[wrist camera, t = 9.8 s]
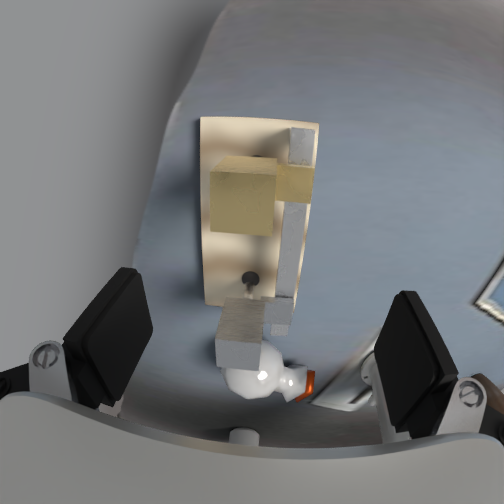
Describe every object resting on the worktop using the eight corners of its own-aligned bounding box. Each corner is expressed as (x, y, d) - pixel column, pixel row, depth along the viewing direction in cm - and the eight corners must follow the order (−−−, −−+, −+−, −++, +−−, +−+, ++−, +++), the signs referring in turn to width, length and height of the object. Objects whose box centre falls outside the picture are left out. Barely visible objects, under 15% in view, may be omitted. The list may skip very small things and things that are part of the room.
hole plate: (293, 305, 38) (293, 313, 37) (207, 297, 39) (205, 305, 37) (317, 123, 26) (319, 123, 25) (204, 116, 27) (200, 117, 26)
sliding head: (303, 190, 28) (318, 240, 18) (235, 185, 28) (210, 231, 18) (307, 152, 26) (327, 180, 16) (236, 146, 26) (209, 171, 16)
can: (229, 425, 59) (222, 466, 48) (259, 427, 58) (255, 469, 47) (231, 435, 62) (225, 474, 52) (259, 438, 62) (255, 476, 51)
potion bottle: (231, 320, 42) (303, 351, 47) (204, 372, 41) (278, 396, 46) (251, 339, 34) (333, 370, 38) (217, 401, 32) (302, 421, 37)
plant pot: (502, 356, 43) (525, 403, 29) (481, 389, 49) (497, 432, 35) (459, 372, 45) (480, 428, 31) (440, 404, 52) (454, 453, 38)
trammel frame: (286, 309, 37) (286, 387, 26) (234, 304, 37) (217, 380, 26) (308, 127, 25) (331, 139, 15) (239, 122, 26) (210, 130, 15)
